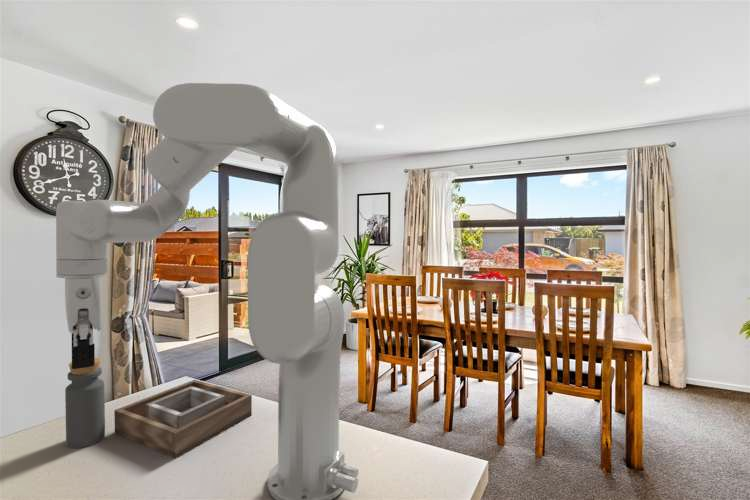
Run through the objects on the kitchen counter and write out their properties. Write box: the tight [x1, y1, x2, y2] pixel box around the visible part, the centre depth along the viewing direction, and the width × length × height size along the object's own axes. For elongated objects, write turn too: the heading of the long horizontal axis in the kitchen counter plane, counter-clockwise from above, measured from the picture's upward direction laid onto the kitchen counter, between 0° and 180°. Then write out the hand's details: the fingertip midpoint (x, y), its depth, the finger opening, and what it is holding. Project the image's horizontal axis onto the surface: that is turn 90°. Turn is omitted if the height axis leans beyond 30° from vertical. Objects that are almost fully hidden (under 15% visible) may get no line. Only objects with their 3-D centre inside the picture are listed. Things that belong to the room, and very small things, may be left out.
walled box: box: [114, 379, 253, 459], centre depth 79 cm, size 18×18×5 cm
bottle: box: [64, 357, 106, 449], centre depth 72 cm, size 6×6×15 cm
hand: (82, 359), depth 72 cm, fingers open, 9 cm apart
